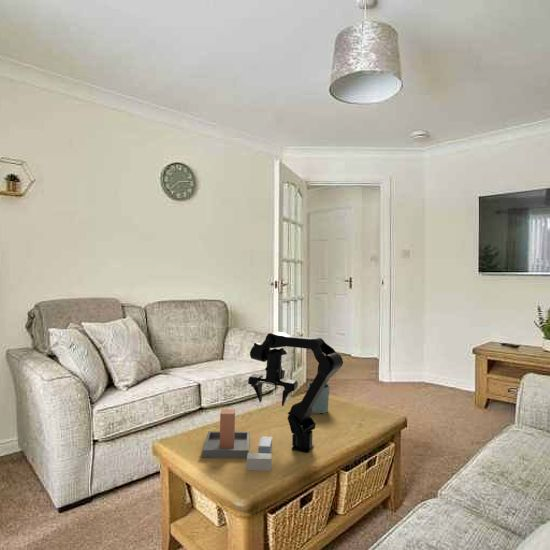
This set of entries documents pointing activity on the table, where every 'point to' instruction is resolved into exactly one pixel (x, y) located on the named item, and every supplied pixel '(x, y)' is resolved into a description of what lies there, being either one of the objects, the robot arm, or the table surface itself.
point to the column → (227, 428)
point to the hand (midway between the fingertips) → (271, 403)
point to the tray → (214, 450)
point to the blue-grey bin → (321, 400)
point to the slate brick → (265, 445)
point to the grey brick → (259, 461)
